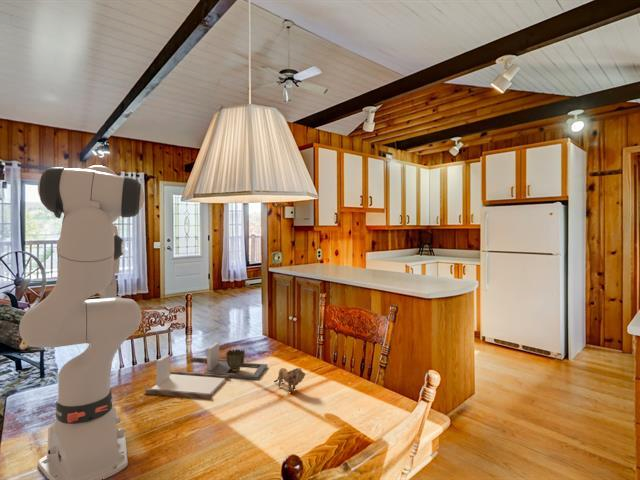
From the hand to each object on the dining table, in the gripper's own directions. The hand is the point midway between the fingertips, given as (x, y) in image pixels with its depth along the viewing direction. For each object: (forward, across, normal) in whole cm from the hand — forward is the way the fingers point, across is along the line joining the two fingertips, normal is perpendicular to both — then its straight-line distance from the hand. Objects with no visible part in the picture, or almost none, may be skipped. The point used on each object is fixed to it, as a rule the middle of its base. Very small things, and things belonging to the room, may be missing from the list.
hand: (104, 306), depth 129 cm
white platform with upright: (+29, -19, -24) cm, 42 cm away
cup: (+29, -17, -44) cm, 55 cm away
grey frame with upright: (+29, -17, -44) cm, 56 cm away
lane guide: (+29, -14, -30) cm, 44 cm away
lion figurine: (+30, -44, -50) cm, 73 cm away
